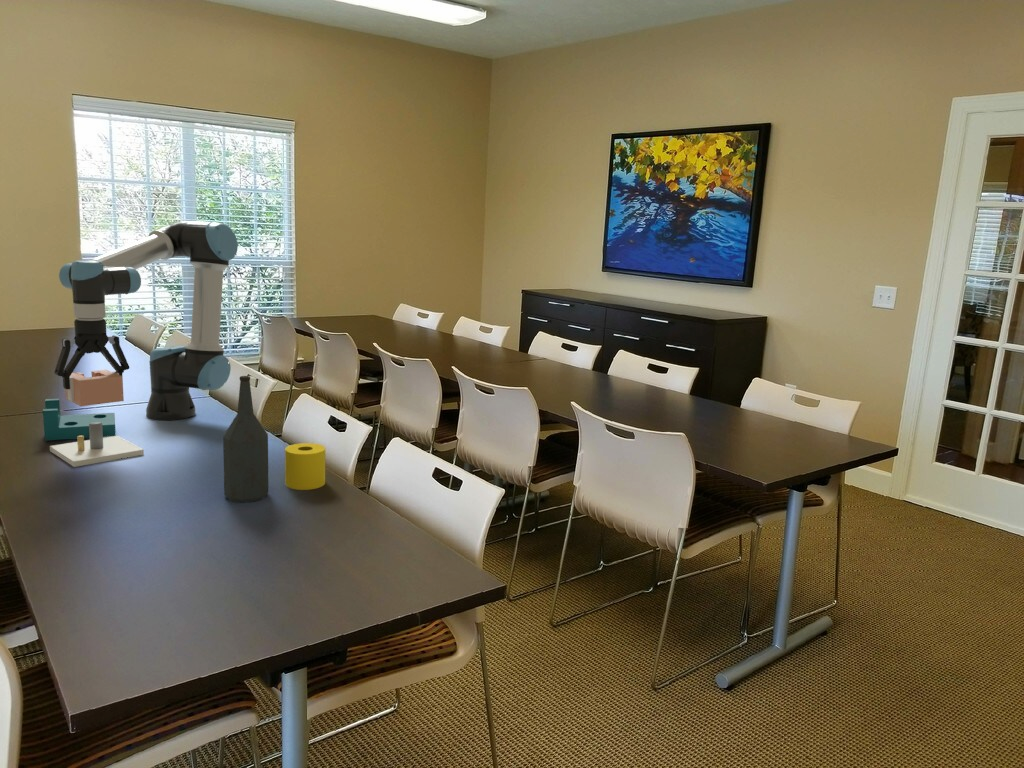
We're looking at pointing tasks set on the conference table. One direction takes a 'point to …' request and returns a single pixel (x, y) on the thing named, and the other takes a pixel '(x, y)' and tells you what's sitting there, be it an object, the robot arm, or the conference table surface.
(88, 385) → the orange arch block
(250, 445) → the bottle
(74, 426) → the teal l-shaped bracket
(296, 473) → the yellow toilet paper roll
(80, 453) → the base
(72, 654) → the conference table surface
